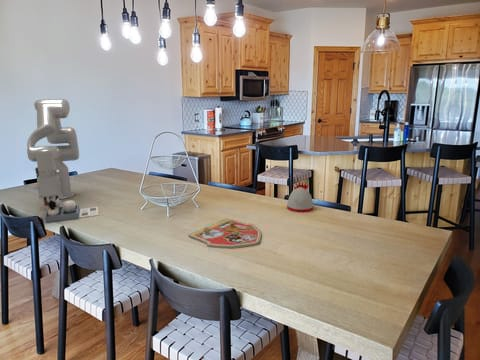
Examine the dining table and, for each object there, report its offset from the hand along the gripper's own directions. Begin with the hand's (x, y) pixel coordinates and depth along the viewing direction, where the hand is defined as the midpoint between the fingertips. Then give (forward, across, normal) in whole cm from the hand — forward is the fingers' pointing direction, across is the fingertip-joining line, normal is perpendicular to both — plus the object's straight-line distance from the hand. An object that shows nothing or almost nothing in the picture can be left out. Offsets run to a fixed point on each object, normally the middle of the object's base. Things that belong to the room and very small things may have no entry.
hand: (53, 208), depth 179 cm
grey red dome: (+6, -122, +36) cm, 127 cm away
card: (+6, -16, -4) cm, 18 cm away
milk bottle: (+6, +3, -20) cm, 21 cm away
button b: (+5, -7, -7) cm, 12 cm away
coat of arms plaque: (+6, -75, +56) cm, 94 cm away
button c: (+5, 0, 0) cm, 5 cm away
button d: (+2, -7, 0) cm, 8 cm away
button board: (+6, -4, -4) cm, 8 cm away
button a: (+2, 0, -7) cm, 8 cm away
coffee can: (+6, +11, -71) cm, 72 cm away
